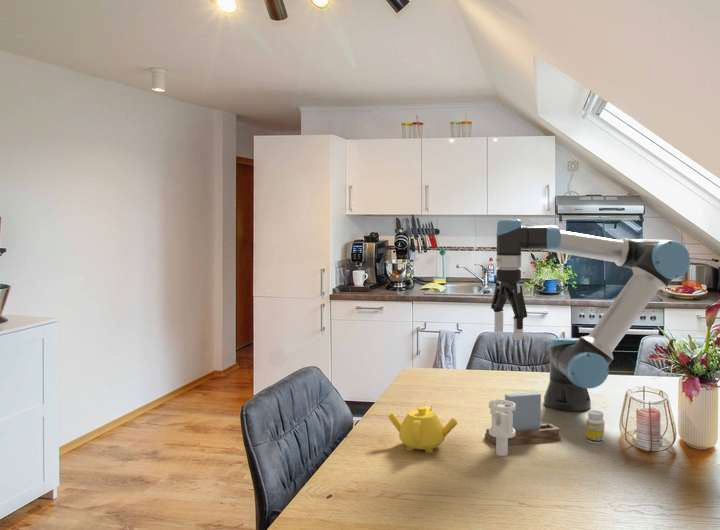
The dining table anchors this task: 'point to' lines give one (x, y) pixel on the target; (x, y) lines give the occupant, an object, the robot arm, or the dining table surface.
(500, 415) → the strainer
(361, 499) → the dining table surface
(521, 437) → the track
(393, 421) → the teapot
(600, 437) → the supplement bottle
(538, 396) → the door panel
